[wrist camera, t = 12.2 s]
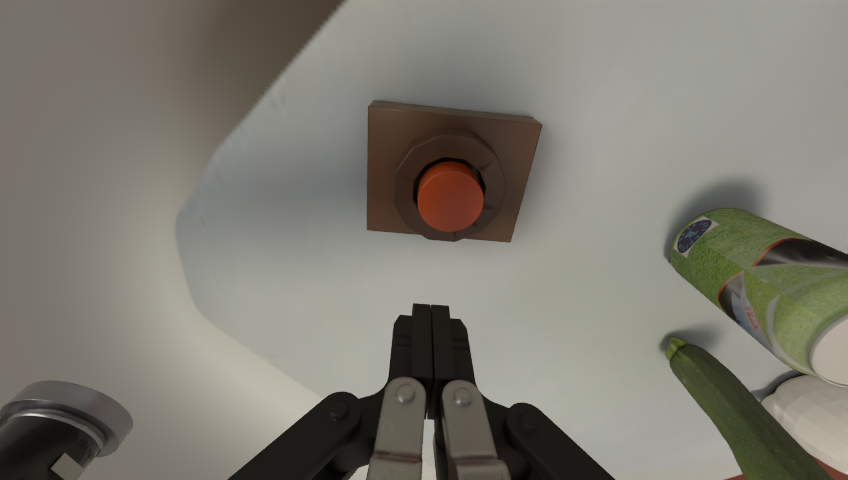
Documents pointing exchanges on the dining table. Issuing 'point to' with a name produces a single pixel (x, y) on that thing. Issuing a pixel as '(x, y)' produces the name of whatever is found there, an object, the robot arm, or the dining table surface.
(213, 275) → the dining table surface
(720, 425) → the vegetable
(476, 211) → the button
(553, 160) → the dining table surface
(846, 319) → the beverage can
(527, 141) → the button block
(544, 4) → the dining table surface
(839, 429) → the cat figurine
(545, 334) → the dining table surface
